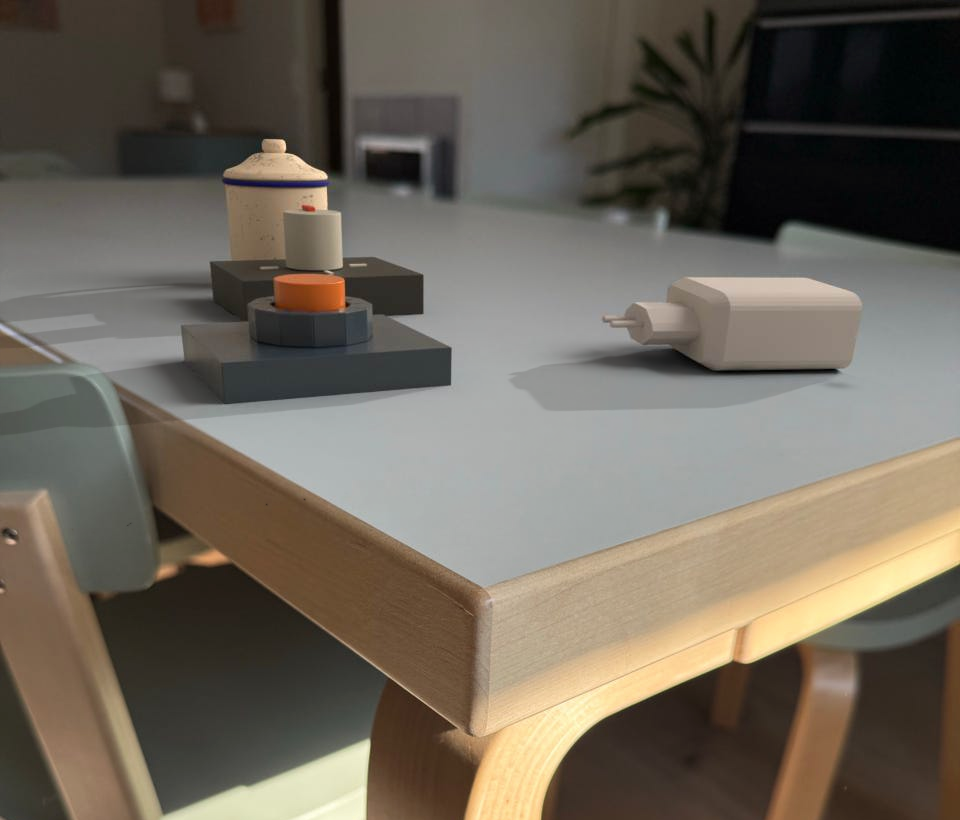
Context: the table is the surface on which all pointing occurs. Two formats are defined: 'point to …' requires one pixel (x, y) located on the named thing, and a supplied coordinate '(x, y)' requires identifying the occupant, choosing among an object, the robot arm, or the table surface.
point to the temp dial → (313, 239)
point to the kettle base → (363, 275)
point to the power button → (309, 292)
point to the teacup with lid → (268, 199)
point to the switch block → (312, 353)
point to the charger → (750, 323)
